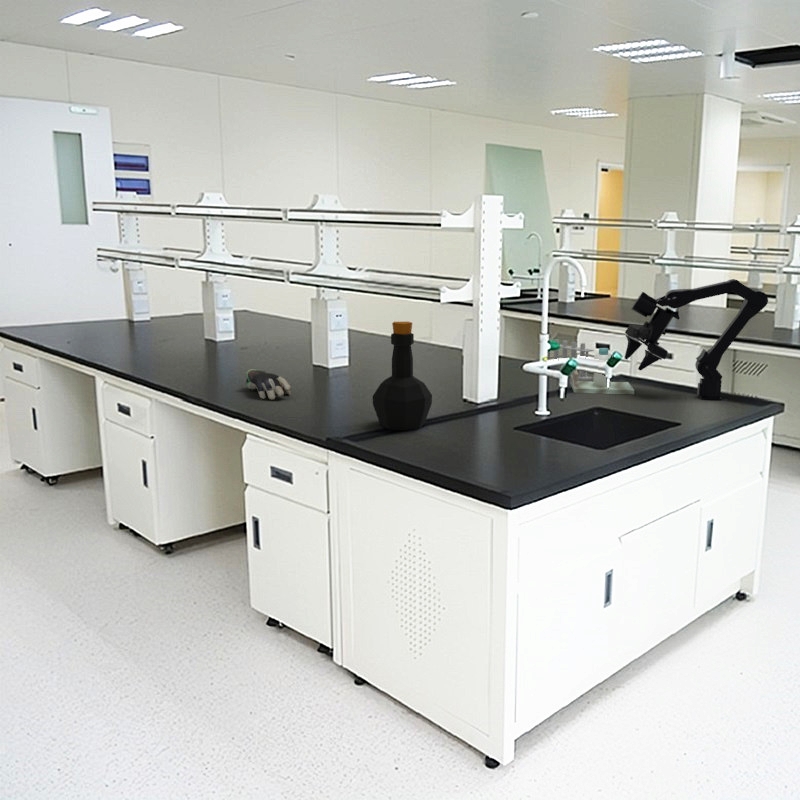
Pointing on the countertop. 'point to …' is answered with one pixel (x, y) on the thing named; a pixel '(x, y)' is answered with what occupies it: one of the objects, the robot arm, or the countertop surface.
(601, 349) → the white bottle
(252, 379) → the glove
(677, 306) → the robot arm
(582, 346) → the test tube rack
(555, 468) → the countertop surface
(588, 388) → the shelf board
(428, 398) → the bottle
